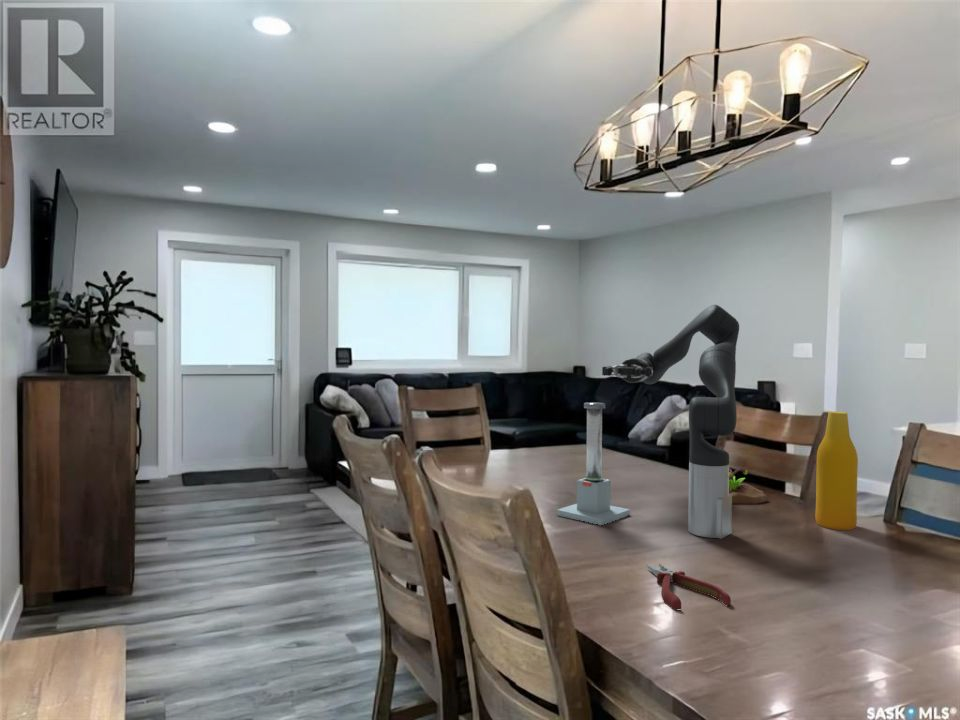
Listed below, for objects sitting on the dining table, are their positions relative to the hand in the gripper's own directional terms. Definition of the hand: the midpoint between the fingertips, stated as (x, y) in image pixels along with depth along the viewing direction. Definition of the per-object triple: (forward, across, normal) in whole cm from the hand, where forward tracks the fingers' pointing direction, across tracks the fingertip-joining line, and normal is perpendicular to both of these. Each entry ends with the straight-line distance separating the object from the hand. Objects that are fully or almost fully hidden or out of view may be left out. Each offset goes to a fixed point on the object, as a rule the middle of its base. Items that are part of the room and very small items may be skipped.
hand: (621, 372), depth 182 cm
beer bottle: (-5, +55, +38) cm, 67 cm away
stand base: (+16, -3, +38) cm, 41 cm away
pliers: (+57, +29, +39) cm, 74 cm away
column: (+16, -3, +29) cm, 33 cm away
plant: (-25, +26, +39) cm, 53 cm away
